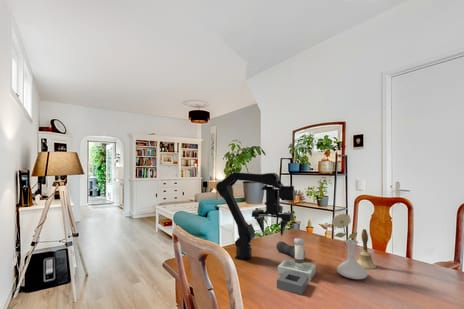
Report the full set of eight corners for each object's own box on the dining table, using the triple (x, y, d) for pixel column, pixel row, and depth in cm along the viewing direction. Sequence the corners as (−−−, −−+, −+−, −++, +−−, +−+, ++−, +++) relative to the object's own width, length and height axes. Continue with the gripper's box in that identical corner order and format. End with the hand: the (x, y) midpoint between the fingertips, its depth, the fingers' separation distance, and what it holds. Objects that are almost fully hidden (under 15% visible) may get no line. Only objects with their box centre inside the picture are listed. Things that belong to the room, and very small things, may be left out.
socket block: (276, 288, 90) (276, 279, 90) (285, 278, 97) (285, 270, 98) (301, 294, 85) (301, 286, 85) (308, 284, 93) (308, 276, 93)
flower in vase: (365, 272, 104) (364, 212, 105) (370, 284, 93) (369, 217, 94) (331, 267, 108) (330, 210, 109) (333, 279, 97) (332, 215, 98)
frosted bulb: (294, 272, 101) (294, 240, 101) (294, 268, 104) (294, 237, 105) (304, 273, 100) (304, 240, 101) (303, 269, 104) (303, 238, 104)
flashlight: (275, 251, 128) (275, 241, 128) (282, 249, 131) (282, 239, 131) (297, 261, 115) (297, 249, 115) (305, 259, 118) (305, 247, 118)
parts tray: (277, 273, 102) (277, 266, 102) (285, 265, 110) (285, 258, 110) (309, 281, 95) (309, 273, 95) (315, 272, 103) (315, 264, 104)
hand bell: (367, 270, 105) (366, 232, 106) (351, 263, 113) (350, 228, 114) (380, 267, 108) (380, 230, 109) (364, 260, 116) (363, 226, 117)
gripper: (297, 199, 117) (297, 232, 116) (261, 196, 127) (261, 227, 126) (289, 202, 107) (289, 238, 107) (251, 199, 117) (251, 232, 116)
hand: (272, 233), depth 114 cm, fingers open, 9 cm apart
